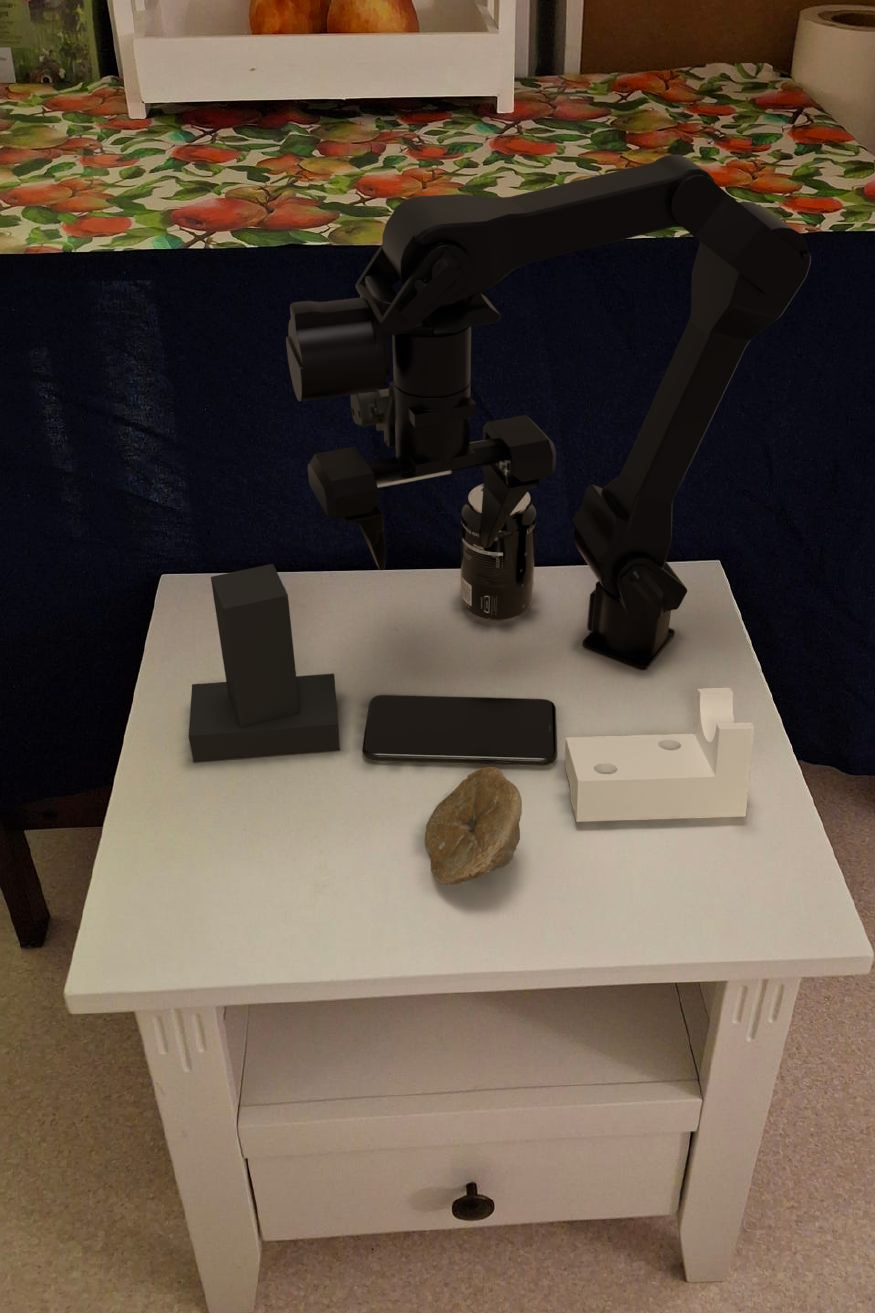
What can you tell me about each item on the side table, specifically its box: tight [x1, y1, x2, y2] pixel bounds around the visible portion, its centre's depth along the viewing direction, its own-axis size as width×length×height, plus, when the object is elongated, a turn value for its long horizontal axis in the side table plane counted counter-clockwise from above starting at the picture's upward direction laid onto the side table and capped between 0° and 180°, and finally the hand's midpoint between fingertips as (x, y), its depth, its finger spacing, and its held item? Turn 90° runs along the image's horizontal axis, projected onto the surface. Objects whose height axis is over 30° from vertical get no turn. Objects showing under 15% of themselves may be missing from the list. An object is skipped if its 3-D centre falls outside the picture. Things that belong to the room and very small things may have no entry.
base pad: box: [188, 673, 341, 763], centre depth 102 cm, size 12×6×3 cm, turn 96°
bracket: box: [564, 687, 755, 823], centre depth 95 cm, size 13×7×8 cm, turn 92°
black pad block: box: [210, 563, 300, 727], centre depth 97 cm, size 5×4×12 cm
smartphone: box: [361, 694, 558, 767], centre depth 102 cm, size 8×1×16 cm
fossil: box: [424, 766, 523, 886], centre depth 90 cm, size 9×4×10 cm
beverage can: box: [460, 483, 538, 622], centre depth 113 cm, size 7×7×12 cm
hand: (433, 556), depth 100 cm, fingers open, 9 cm apart
